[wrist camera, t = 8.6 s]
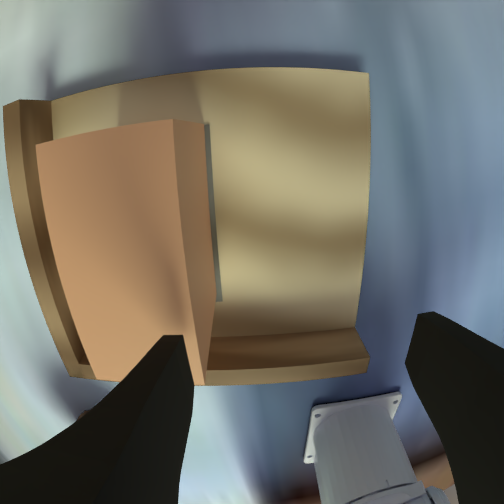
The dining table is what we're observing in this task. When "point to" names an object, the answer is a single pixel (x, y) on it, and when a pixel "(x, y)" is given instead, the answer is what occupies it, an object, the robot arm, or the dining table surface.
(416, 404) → the dining table surface
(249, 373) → the wooden tray
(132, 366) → the block
